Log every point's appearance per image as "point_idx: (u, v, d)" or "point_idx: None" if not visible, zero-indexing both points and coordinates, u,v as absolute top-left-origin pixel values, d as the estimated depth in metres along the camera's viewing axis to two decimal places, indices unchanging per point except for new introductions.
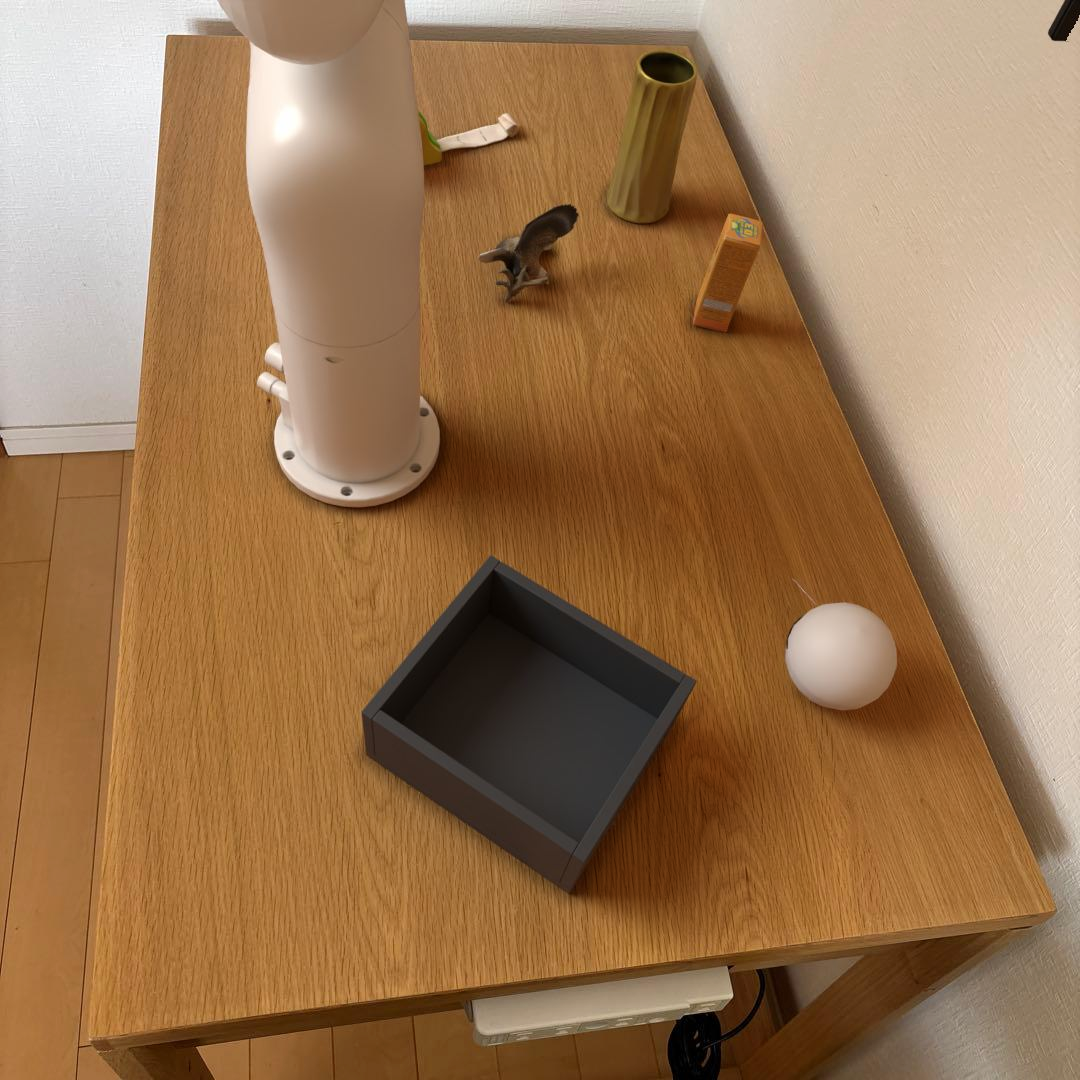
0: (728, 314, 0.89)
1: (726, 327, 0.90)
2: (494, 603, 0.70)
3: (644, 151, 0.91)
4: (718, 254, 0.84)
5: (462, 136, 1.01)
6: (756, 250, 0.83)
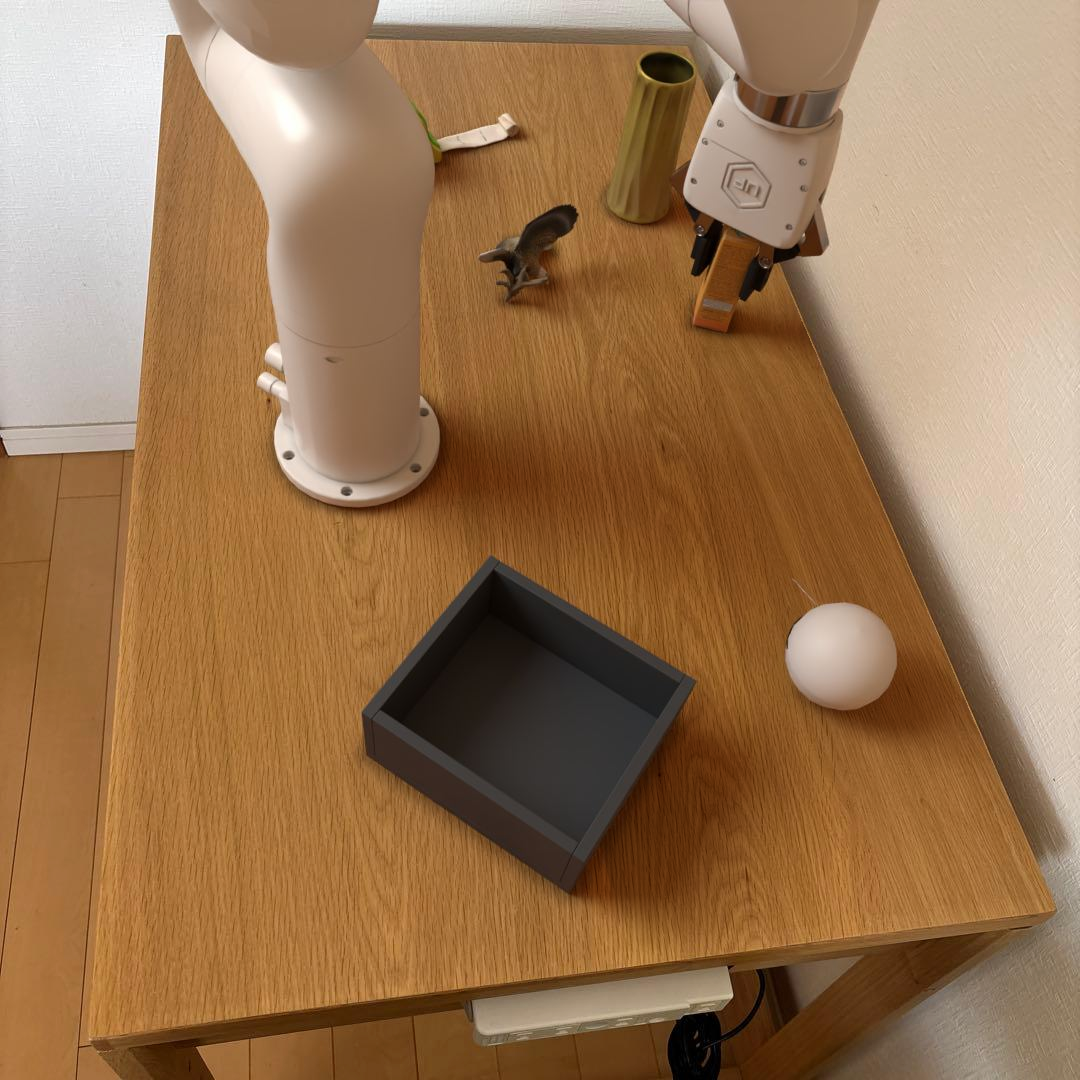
0: (728, 314, 0.89)
1: (726, 327, 0.90)
2: (494, 603, 0.70)
3: (644, 151, 0.91)
4: (718, 254, 0.84)
5: (462, 136, 1.01)
6: (756, 250, 0.83)
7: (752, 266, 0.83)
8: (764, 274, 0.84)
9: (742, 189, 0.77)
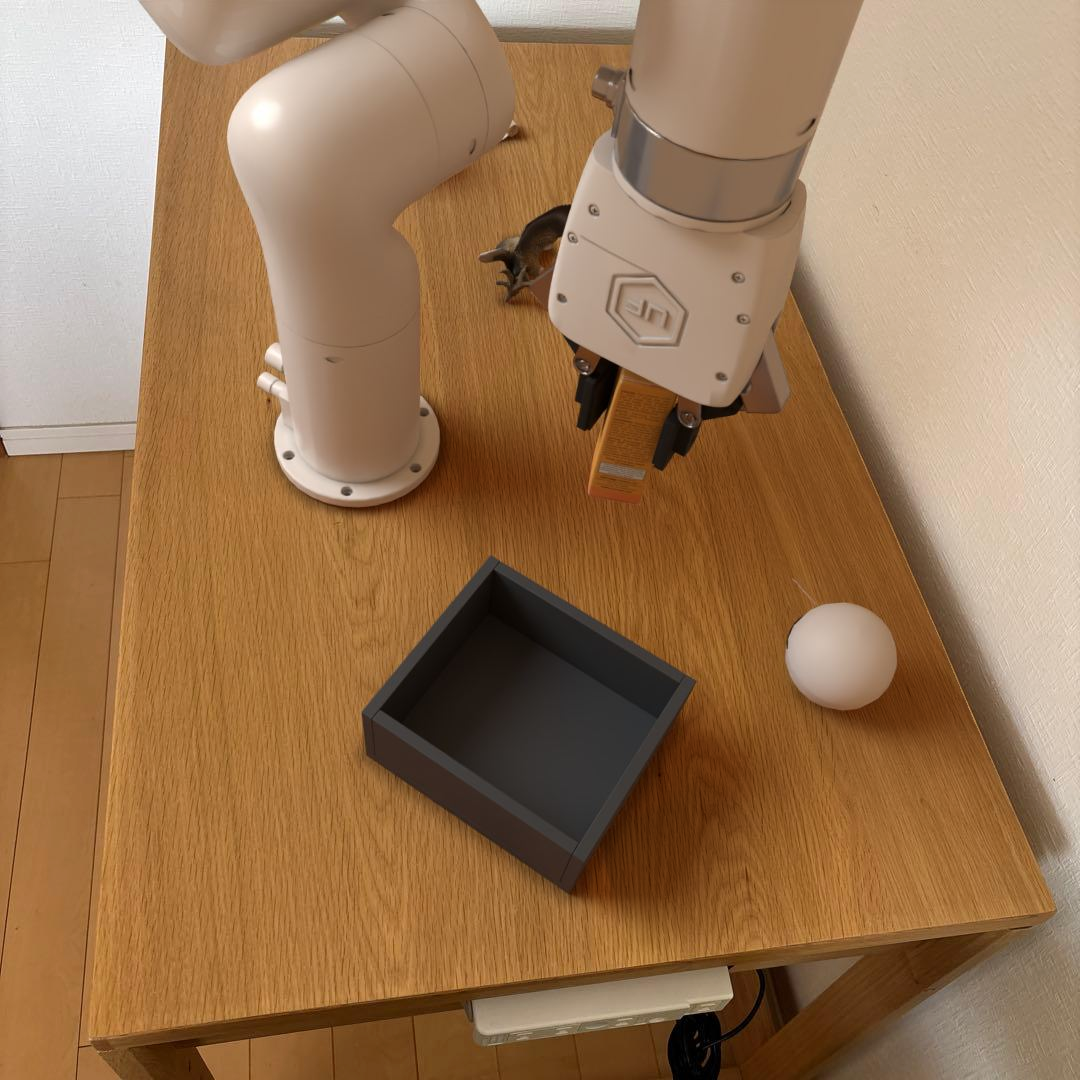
0: (639, 483, 0.57)
1: (639, 499, 0.58)
2: (494, 603, 0.70)
3: None
4: (614, 403, 0.52)
5: None
6: (674, 397, 0.51)
7: (669, 424, 0.51)
8: (689, 434, 0.52)
9: (640, 315, 0.45)
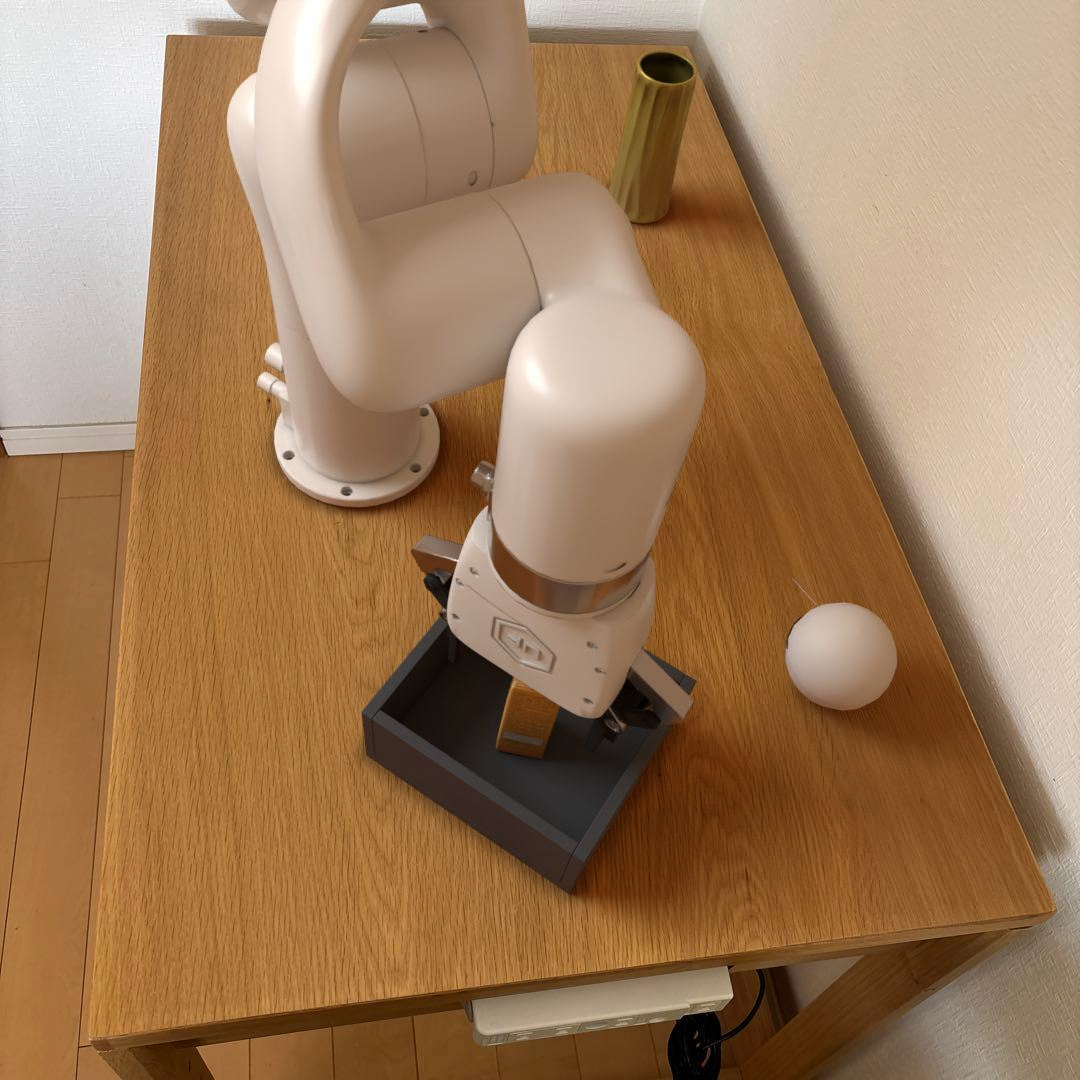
0: (539, 747, 0.64)
1: (540, 756, 0.66)
2: None
3: (644, 151, 0.91)
4: (509, 698, 0.59)
5: None
6: None
7: (596, 726, 0.56)
8: None
9: (519, 647, 0.52)
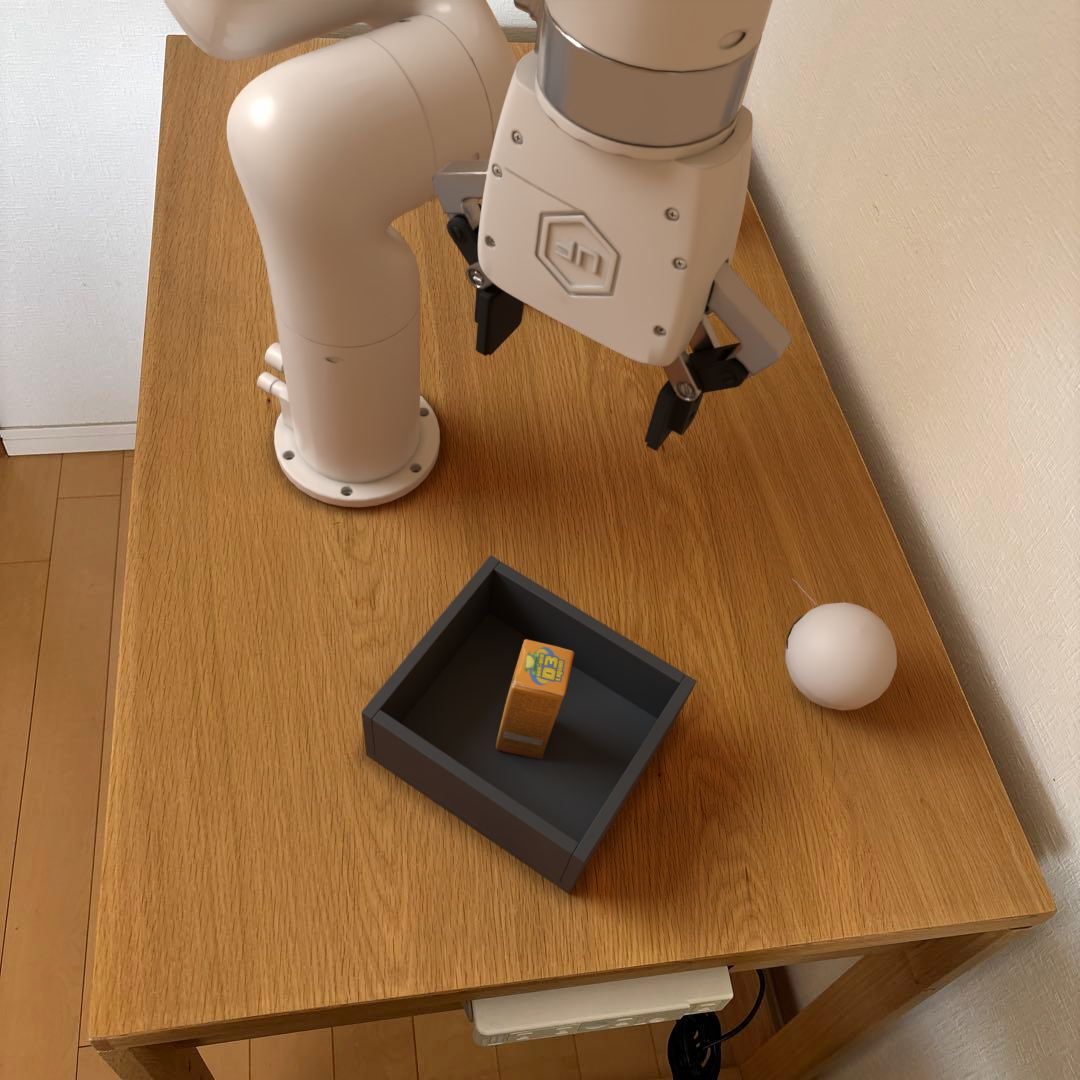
0: (539, 747, 0.64)
1: (540, 756, 0.66)
2: (494, 603, 0.70)
3: None
4: (509, 698, 0.59)
5: None
6: (559, 699, 0.59)
7: (663, 396, 0.45)
8: (687, 408, 0.46)
9: (571, 260, 0.41)
